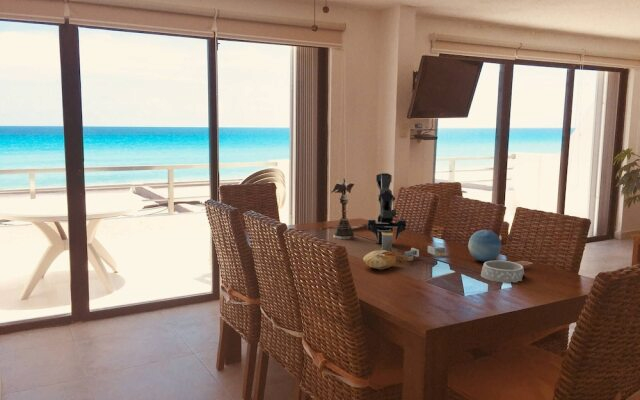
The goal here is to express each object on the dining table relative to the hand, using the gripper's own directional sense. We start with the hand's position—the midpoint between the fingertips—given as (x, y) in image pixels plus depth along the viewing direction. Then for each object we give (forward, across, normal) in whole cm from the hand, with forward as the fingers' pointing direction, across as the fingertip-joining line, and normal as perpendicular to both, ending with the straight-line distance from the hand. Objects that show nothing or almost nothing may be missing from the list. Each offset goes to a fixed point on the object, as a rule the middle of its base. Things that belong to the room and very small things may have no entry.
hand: (386, 239), depth 266 cm
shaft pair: (+5, +18, +7) cm, 20 cm away
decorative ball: (+9, +46, +4) cm, 47 cm away
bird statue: (-28, -24, +40) cm, 54 cm away
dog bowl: (+28, +48, -14) cm, 57 cm away
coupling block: (+7, 0, +5) cm, 9 cm away
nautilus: (+20, -1, -7) cm, 22 cm away
